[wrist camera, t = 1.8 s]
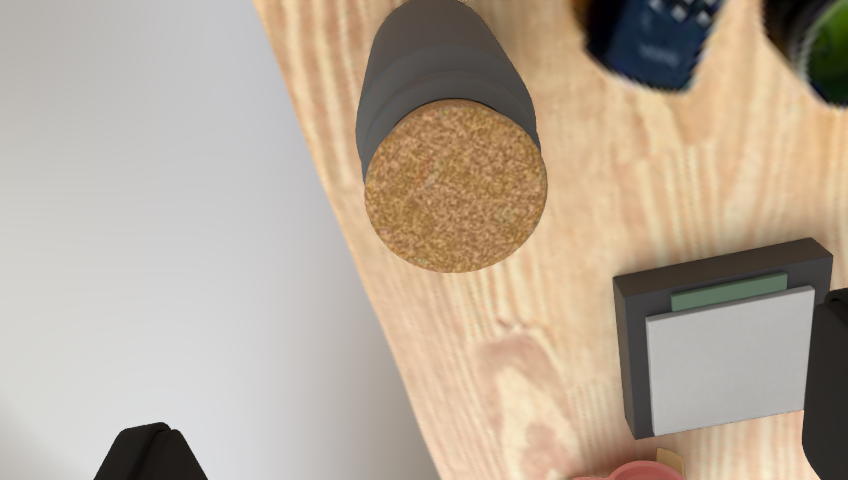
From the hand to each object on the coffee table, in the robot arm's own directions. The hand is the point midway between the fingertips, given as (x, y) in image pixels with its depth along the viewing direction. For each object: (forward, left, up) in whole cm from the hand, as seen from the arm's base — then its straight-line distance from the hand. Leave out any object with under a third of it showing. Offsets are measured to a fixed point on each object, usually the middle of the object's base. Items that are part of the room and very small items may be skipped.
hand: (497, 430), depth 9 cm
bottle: (0, 0, -23) cm, 23 cm away
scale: (+19, +13, -23) cm, 32 cm away
